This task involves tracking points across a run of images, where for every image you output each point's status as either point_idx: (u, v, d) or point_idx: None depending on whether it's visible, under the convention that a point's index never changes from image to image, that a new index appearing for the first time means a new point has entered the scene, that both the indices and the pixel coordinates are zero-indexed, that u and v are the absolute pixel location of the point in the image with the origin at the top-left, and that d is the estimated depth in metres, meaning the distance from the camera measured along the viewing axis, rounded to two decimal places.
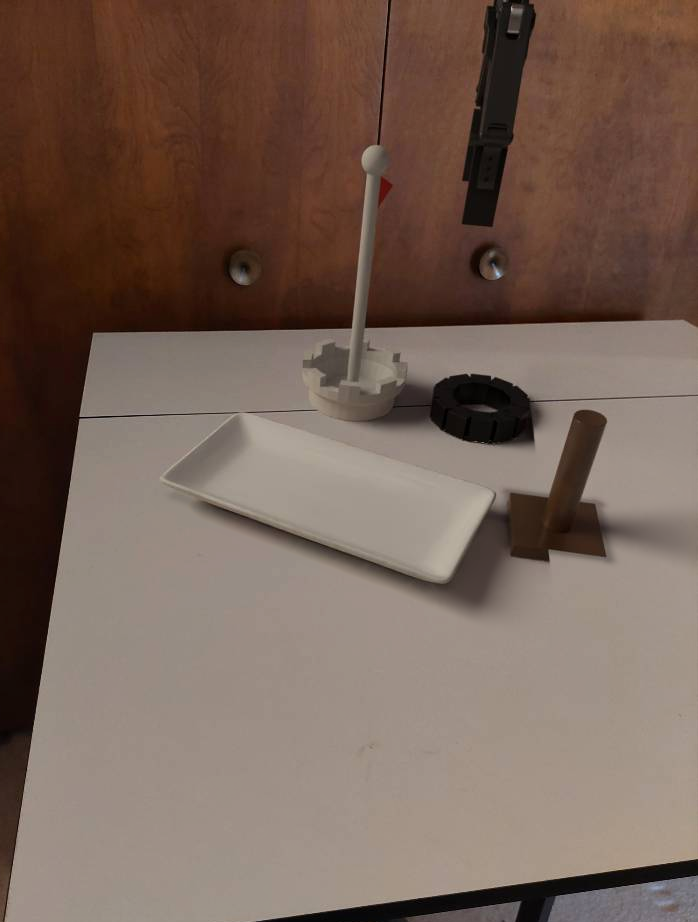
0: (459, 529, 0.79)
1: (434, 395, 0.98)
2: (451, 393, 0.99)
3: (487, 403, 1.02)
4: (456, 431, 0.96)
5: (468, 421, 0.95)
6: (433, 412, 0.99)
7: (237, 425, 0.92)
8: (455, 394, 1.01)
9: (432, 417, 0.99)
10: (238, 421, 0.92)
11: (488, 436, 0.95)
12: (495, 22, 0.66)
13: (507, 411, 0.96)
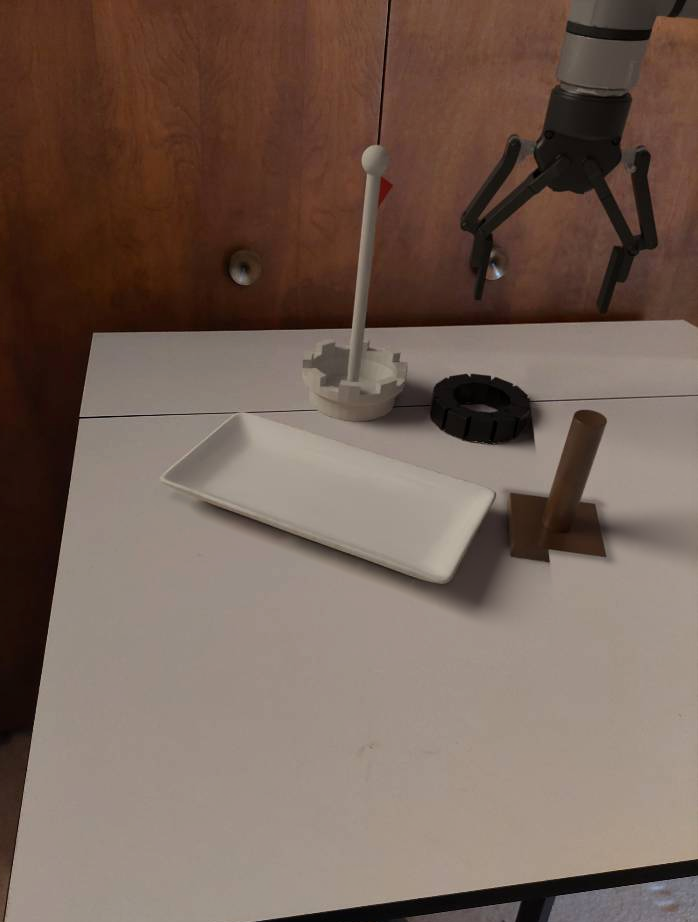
0: (459, 529, 0.79)
1: (434, 395, 0.98)
2: (451, 393, 0.99)
3: (487, 403, 1.02)
4: (456, 431, 0.96)
5: (468, 421, 0.95)
6: (433, 412, 0.99)
7: (237, 424, 0.92)
8: (455, 394, 1.01)
9: (432, 417, 0.99)
10: (238, 421, 0.92)
11: (488, 436, 0.95)
12: None
13: (507, 411, 0.96)
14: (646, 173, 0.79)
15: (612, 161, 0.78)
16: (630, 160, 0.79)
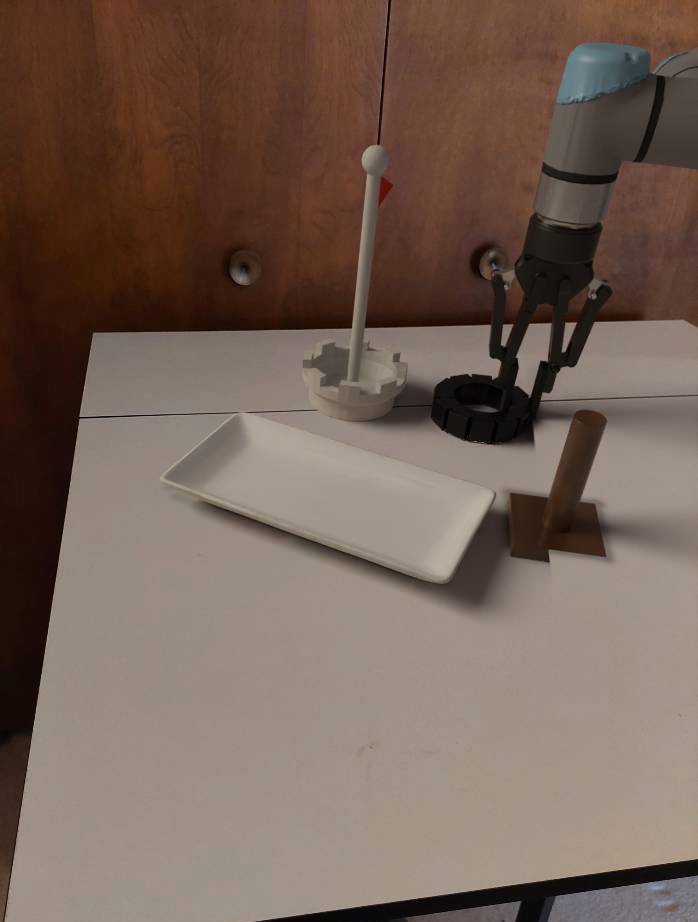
0: (459, 529, 0.79)
1: (435, 395, 0.98)
2: (452, 393, 0.99)
3: (488, 403, 1.02)
4: (457, 431, 0.96)
5: (469, 421, 0.95)
6: (434, 412, 0.98)
7: (237, 424, 0.92)
8: (456, 394, 1.01)
9: (433, 417, 0.99)
10: (238, 421, 0.92)
11: (489, 436, 0.95)
12: None
13: (508, 411, 0.96)
14: (600, 306, 0.88)
15: (583, 281, 0.87)
16: (595, 288, 0.88)
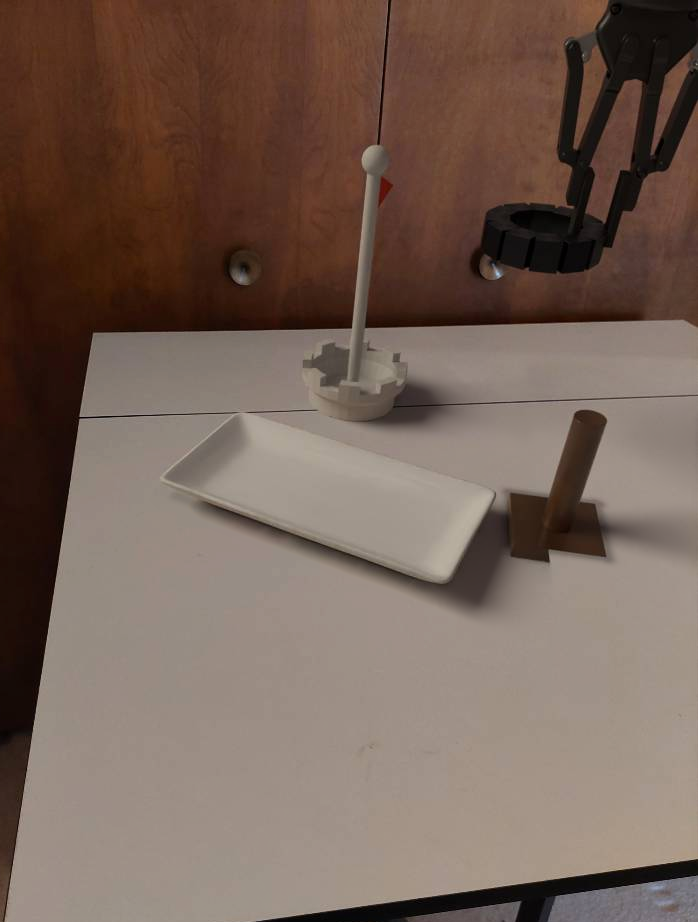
0: (459, 529, 0.79)
1: (487, 219, 0.79)
2: (508, 218, 0.80)
3: None
4: (515, 259, 0.77)
5: (531, 244, 0.76)
6: (485, 241, 0.80)
7: (237, 424, 0.92)
8: None
9: (484, 248, 0.80)
10: (238, 421, 0.92)
11: (556, 263, 0.76)
12: None
13: (579, 234, 0.77)
14: None
15: (686, 42, 0.68)
16: None
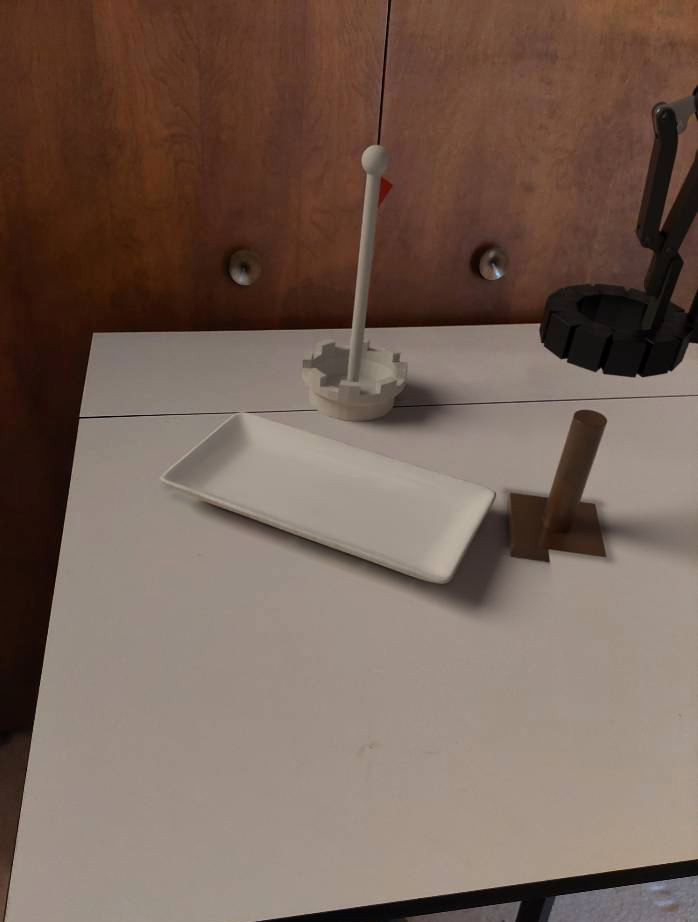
0: (459, 529, 0.79)
1: (550, 309, 0.67)
2: (574, 307, 0.68)
3: (620, 325, 0.71)
4: (587, 359, 0.65)
5: (607, 343, 0.64)
6: (548, 334, 0.67)
7: (237, 424, 0.92)
8: None
9: (546, 342, 0.68)
10: (238, 421, 0.92)
11: (636, 365, 0.64)
12: None
13: (662, 329, 0.65)
14: None
15: None
16: None
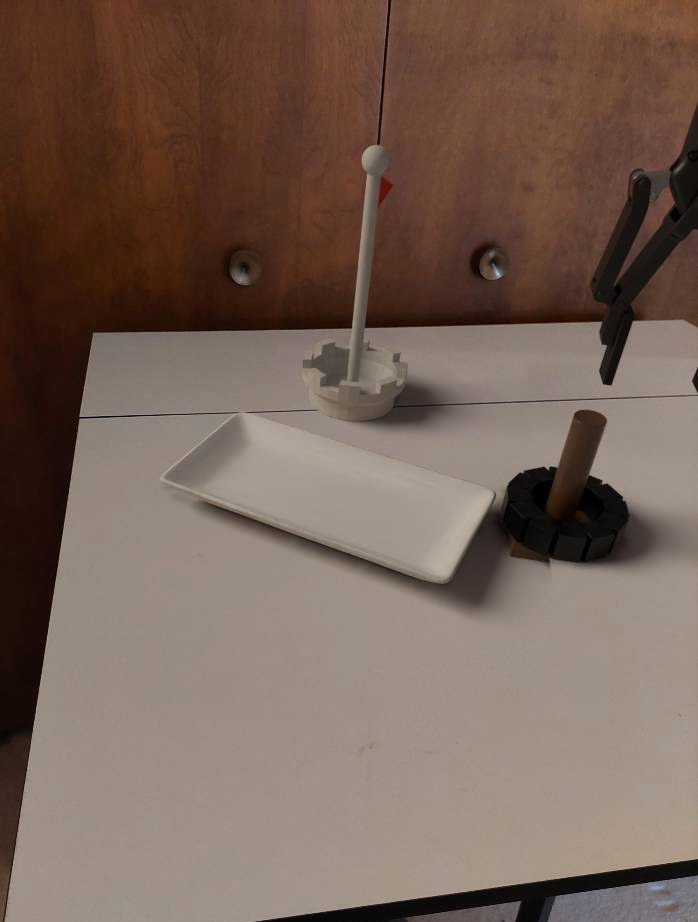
0: (459, 529, 0.79)
1: (509, 498, 0.80)
2: (529, 495, 0.80)
3: None
4: (538, 546, 0.78)
5: (554, 535, 0.76)
6: (507, 519, 0.80)
7: (237, 424, 0.92)
8: (532, 494, 0.82)
9: (506, 525, 0.80)
10: (238, 421, 0.92)
11: (579, 554, 0.77)
12: None
13: (602, 521, 0.77)
14: None
15: None
16: None
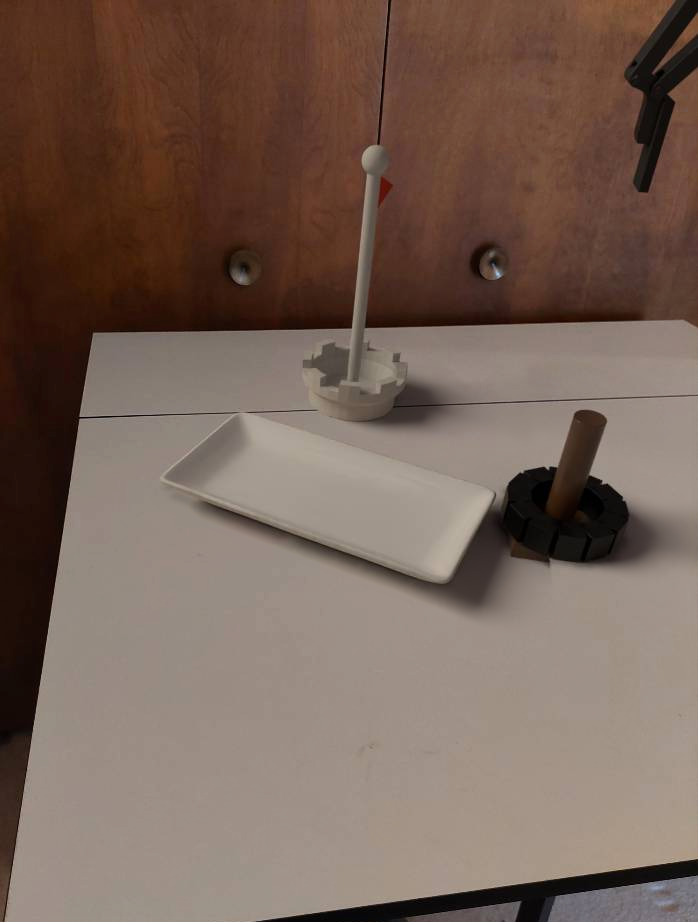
0: (459, 529, 0.79)
1: (509, 498, 0.80)
2: (529, 495, 0.80)
3: None
4: (538, 546, 0.78)
5: (554, 535, 0.76)
6: (507, 519, 0.80)
7: (237, 424, 0.92)
8: (532, 494, 0.82)
9: (506, 525, 0.80)
10: (238, 421, 0.92)
11: (579, 554, 0.77)
12: None
13: (602, 521, 0.77)
14: None
15: None
16: None
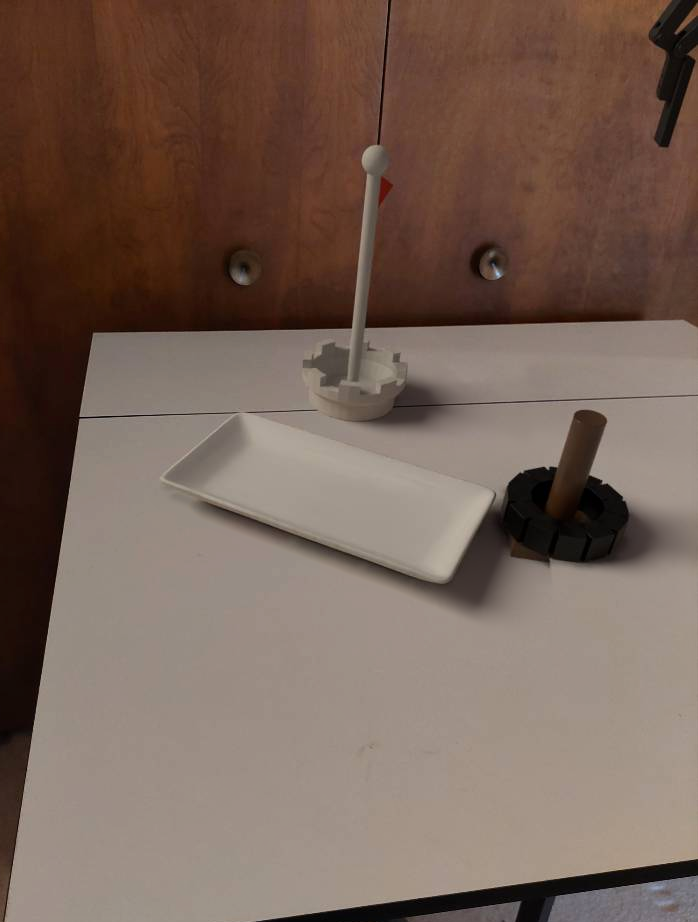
0: (459, 529, 0.79)
1: (509, 498, 0.80)
2: (529, 495, 0.80)
3: None
4: (538, 546, 0.78)
5: (554, 535, 0.76)
6: (507, 519, 0.80)
7: (237, 424, 0.92)
8: (532, 494, 0.82)
9: (506, 525, 0.80)
10: (238, 421, 0.92)
11: (579, 554, 0.77)
12: None
13: (602, 521, 0.77)
14: None
15: None
16: None
